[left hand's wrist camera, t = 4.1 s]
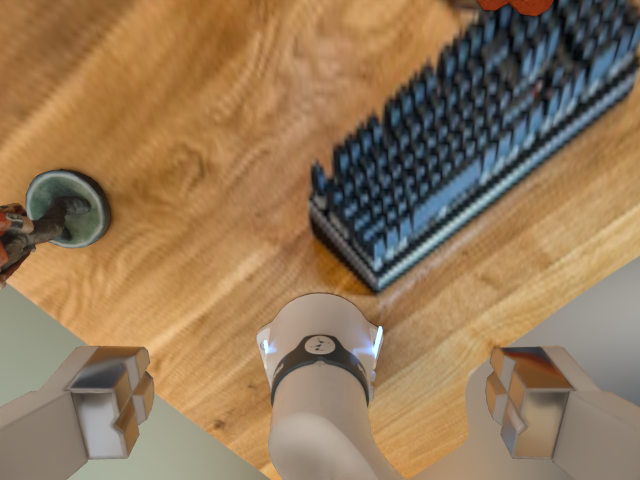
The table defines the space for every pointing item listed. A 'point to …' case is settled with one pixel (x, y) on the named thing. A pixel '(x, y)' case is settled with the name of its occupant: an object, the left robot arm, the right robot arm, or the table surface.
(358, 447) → the left robot arm
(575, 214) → the table surface
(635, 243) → the table surface
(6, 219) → the figurine
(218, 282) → the table surface
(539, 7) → the toy
